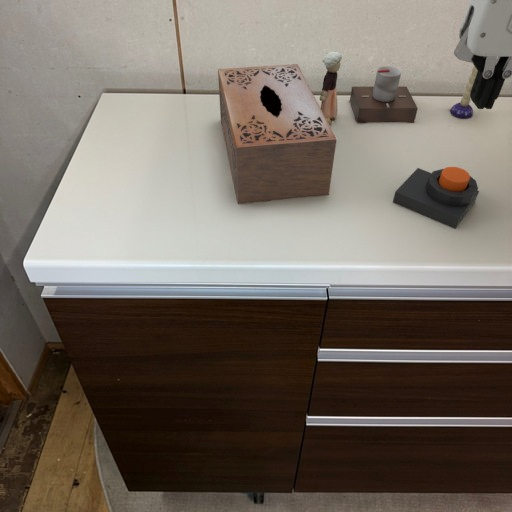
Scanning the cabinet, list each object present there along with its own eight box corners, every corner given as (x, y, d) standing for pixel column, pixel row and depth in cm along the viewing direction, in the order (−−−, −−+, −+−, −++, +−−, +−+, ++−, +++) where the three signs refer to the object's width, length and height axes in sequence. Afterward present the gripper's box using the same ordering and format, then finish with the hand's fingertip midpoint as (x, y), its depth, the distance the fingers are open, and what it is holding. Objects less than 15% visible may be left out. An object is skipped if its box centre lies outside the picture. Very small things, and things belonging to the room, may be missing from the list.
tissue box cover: (328, 195, 74) (336, 139, 67) (237, 204, 73) (236, 147, 66) (294, 114, 92) (297, 64, 85) (220, 120, 91) (217, 69, 84)
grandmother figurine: (334, 129, 89) (343, 61, 80) (314, 126, 89) (321, 59, 80) (338, 109, 94) (346, 44, 85) (318, 107, 94) (325, 42, 85)
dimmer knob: (390, 90, 93) (395, 63, 89) (399, 100, 90) (405, 73, 86) (369, 92, 92) (373, 65, 89) (377, 103, 89) (382, 75, 86)
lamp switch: (470, 182, 71) (474, 173, 69) (460, 195, 68) (464, 185, 67) (444, 173, 72) (448, 163, 71) (434, 185, 70) (437, 175, 69)
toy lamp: (477, 112, 93) (510, 23, 81) (471, 122, 90) (504, 32, 79) (453, 106, 95) (482, 18, 83) (446, 115, 92) (475, 26, 80)
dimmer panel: (403, 100, 97) (406, 85, 94) (414, 122, 90) (418, 107, 88) (349, 100, 97) (352, 85, 94) (356, 122, 90) (359, 107, 88)
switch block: (475, 201, 73) (484, 180, 71) (454, 229, 69) (463, 208, 66) (415, 177, 78) (421, 156, 75) (392, 202, 73) (397, 181, 70)
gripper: (484, -56, 45) (432, 119, 58) (635, -55, 46) (550, 118, 59) (458, -72, 51) (415, 91, 64) (594, -71, 51) (524, 90, 64)
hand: (480, 103), depth 61 cm, fingers closed
